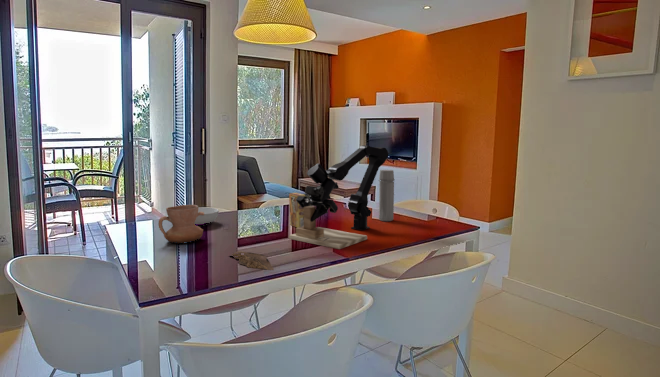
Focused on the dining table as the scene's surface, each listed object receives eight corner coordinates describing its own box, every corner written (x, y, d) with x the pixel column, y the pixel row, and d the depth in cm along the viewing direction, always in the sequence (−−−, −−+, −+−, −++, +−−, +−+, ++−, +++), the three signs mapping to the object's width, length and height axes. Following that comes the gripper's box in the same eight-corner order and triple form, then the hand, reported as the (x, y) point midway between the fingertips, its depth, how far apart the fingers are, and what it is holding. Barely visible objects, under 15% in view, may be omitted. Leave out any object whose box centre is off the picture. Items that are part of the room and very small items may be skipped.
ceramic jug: (201, 234, 183) (198, 202, 181) (210, 241, 171) (208, 206, 169) (156, 241, 174) (153, 207, 172) (163, 249, 162) (160, 212, 160)
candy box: (306, 227, 197) (306, 194, 195) (298, 228, 195) (297, 195, 193) (297, 223, 205) (296, 192, 203) (289, 225, 202) (288, 193, 200)
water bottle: (382, 218, 218) (383, 169, 215) (396, 219, 213) (397, 170, 210) (373, 221, 211) (374, 170, 207) (387, 223, 206) (388, 171, 203)
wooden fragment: (224, 254, 155) (224, 252, 154) (252, 250, 161) (252, 247, 160) (253, 275, 133) (253, 271, 133) (284, 268, 139) (284, 265, 139)
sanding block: (305, 232, 181) (305, 204, 179) (323, 236, 175) (323, 207, 173) (295, 235, 176) (295, 206, 175) (314, 238, 170) (314, 209, 168)
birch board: (318, 230, 191) (318, 226, 191) (367, 239, 176) (367, 235, 175) (289, 238, 177) (289, 235, 176) (339, 249, 161) (339, 245, 161)
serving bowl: (212, 229, 193) (211, 214, 192) (166, 229, 193) (165, 214, 193) (224, 220, 214) (223, 206, 213) (182, 220, 214) (181, 206, 213)
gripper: (298, 177, 181) (280, 206, 174) (333, 180, 170) (315, 211, 163) (310, 193, 188) (294, 221, 181) (345, 197, 177) (328, 228, 170)
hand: (307, 220), depth 173 cm, fingers closed on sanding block, 3 cm apart
